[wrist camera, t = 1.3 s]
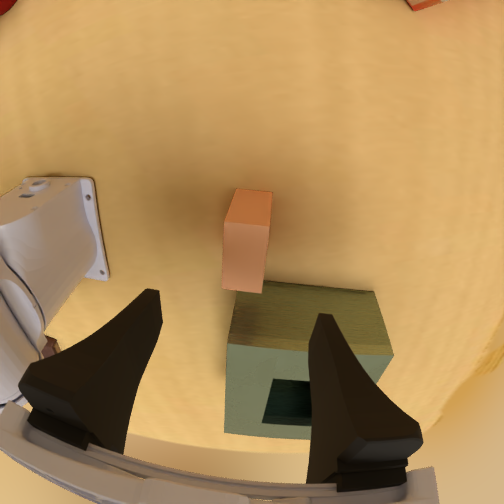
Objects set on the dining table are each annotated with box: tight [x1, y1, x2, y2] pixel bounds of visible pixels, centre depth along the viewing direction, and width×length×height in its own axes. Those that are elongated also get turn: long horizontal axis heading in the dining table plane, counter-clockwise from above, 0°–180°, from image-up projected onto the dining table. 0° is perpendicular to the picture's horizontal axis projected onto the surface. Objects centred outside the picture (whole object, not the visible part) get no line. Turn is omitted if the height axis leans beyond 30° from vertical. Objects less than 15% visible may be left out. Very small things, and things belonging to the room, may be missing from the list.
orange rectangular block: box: [222, 188, 273, 293], centre depth 19 cm, size 4×2×5 cm, turn 175°
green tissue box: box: [224, 280, 394, 440], centre depth 25 cm, size 14×11×7 cm
